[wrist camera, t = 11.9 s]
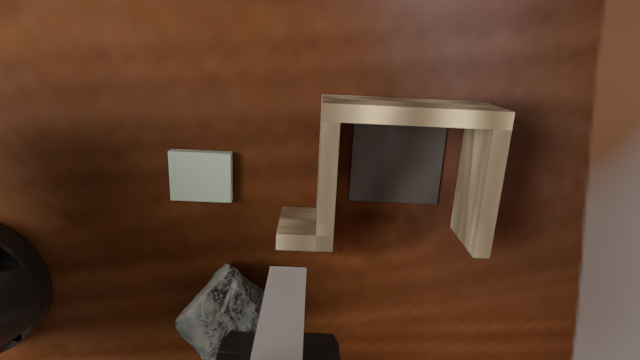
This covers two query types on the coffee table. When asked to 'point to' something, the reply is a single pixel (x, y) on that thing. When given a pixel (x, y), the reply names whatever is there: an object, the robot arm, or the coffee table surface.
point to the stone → (220, 311)
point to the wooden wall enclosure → (406, 165)
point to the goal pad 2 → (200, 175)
